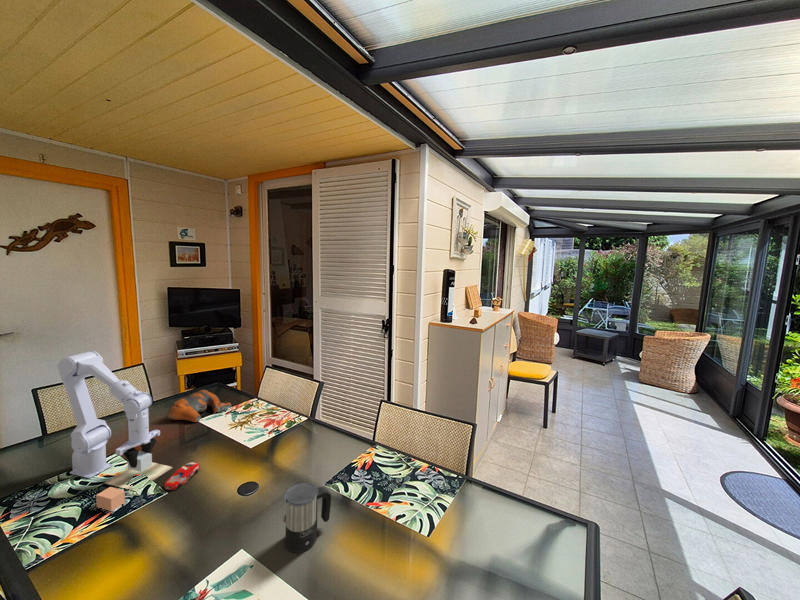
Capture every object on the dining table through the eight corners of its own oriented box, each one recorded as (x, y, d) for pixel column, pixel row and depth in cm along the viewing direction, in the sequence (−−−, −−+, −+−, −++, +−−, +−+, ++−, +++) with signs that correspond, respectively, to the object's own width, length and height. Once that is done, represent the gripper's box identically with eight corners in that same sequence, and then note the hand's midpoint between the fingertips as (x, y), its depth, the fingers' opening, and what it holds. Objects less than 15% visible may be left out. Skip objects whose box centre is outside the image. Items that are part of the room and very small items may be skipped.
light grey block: (128, 468, 118) (127, 456, 118) (139, 462, 122) (138, 450, 121) (141, 471, 117) (140, 459, 116) (151, 465, 120) (151, 453, 120)
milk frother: (298, 559, 90) (299, 509, 88) (262, 532, 98) (263, 486, 96) (334, 526, 102) (336, 482, 100) (300, 504, 110) (301, 463, 108)
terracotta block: (96, 508, 103) (96, 494, 103) (110, 499, 107) (110, 486, 107) (111, 512, 102) (111, 499, 102) (124, 503, 106) (124, 490, 105)
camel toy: (162, 420, 157) (189, 432, 152) (171, 393, 158) (198, 404, 154) (204, 411, 181) (228, 421, 176) (211, 388, 182) (236, 397, 178)
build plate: (104, 483, 114) (104, 482, 114) (143, 460, 128) (143, 460, 128) (135, 491, 111) (135, 491, 111) (172, 467, 125) (172, 467, 125)
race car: (173, 493, 112) (173, 482, 111) (160, 491, 113) (159, 480, 112) (203, 470, 125) (202, 460, 124) (190, 467, 126) (190, 458, 125)
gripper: (126, 439, 110) (127, 477, 111) (166, 420, 124) (167, 454, 125) (110, 436, 111) (111, 473, 113) (151, 417, 125) (152, 450, 127)
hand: (139, 463), depth 119 cm, fingers closed on light grey block, 4 cm apart
